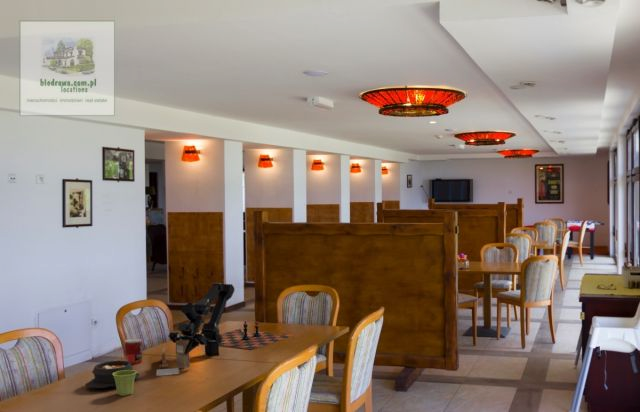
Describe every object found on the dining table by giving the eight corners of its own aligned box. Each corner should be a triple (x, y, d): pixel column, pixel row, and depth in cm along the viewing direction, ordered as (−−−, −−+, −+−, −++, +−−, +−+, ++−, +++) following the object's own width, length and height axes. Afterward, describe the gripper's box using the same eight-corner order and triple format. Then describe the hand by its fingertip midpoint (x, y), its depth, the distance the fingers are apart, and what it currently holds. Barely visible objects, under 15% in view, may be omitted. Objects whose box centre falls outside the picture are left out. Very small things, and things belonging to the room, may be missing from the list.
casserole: (106, 394, 278) (106, 374, 277) (75, 389, 287) (74, 369, 286) (149, 379, 299) (149, 360, 299) (119, 374, 308) (118, 356, 308)
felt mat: (178, 368, 316) (178, 367, 316) (179, 374, 306) (179, 373, 306) (156, 370, 313) (156, 369, 313) (156, 376, 304) (156, 375, 304)
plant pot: (116, 391, 282) (115, 370, 282) (139, 389, 283) (138, 369, 283) (111, 397, 273) (110, 376, 272) (134, 396, 273) (134, 375, 273)
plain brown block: (181, 365, 321) (180, 339, 321) (189, 366, 319) (188, 340, 319) (176, 367, 317) (175, 341, 317) (184, 368, 315) (183, 341, 315)
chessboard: (252, 350, 349) (251, 329, 349) (193, 343, 370) (193, 323, 370) (295, 336, 383) (294, 317, 383) (239, 330, 404) (239, 312, 404)
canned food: (138, 364, 325) (137, 341, 325) (122, 364, 327) (121, 341, 326) (145, 360, 333) (144, 338, 332) (130, 360, 334) (129, 338, 334)
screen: (168, 359, 333) (167, 347, 333) (168, 366, 320) (167, 354, 319) (159, 360, 332) (159, 348, 332) (159, 367, 319) (159, 354, 318)
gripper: (170, 315, 325) (156, 343, 315) (203, 317, 317) (190, 345, 308) (180, 328, 332) (167, 356, 322) (212, 330, 325) (200, 358, 315)
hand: (180, 353), depth 317 cm, fingers closed on plain brown block, 4 cm apart
